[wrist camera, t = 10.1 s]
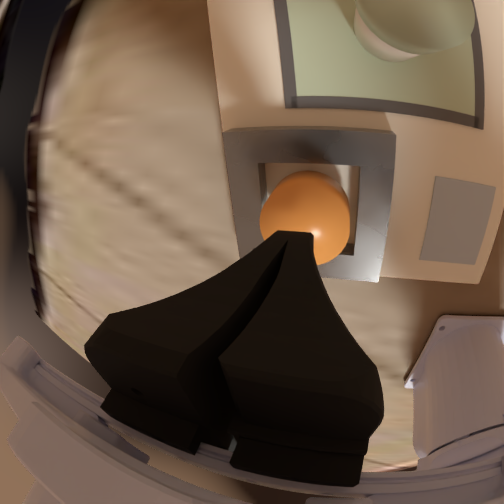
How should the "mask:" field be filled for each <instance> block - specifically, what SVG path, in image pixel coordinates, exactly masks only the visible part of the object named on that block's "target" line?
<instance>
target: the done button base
mask: <svg viewBox="0 0 504 504" xmlns="http://www.w3.org/2000/svg"><path fill="white" fill-rule="evenodd" d="M222 134H223V142H224V149H225V157H226V164H227V172H228V179H229V186H230V193H231V200H232V207H233V214H234V221H235V228H236V235H237V242H238V249H239V256H240V259H241V258H242V257H244V256H245V255H247V254H248V253H249V252H251V251H252V250H253V249H255V248H256V247H257V246H258V245H260V244H261V243H262V242H263V241H264V239H263V236H262V234H261V230H260V214H261V210H262V208H263V205H264V204H265V202H266V201H267V199H268V195H267V184H266V172H265V163H311V164H334V165H351V166H359V179H358V198H357V213H356V225H355V236H354V244H349V243H347V244H346V246H345V247H344V249H343V250H342V252H341V253H340V254H339V255H338V256H336V257H335V258H334V259H332V260H331V261H329V262H326V263H324V264H320V265H317V267H318V270H319V274H320V276H321V277H326V278H336V279H347V280H358V281H370V282H378V280H379V275H380V271H381V266H382V260H383V255H384V249H385V243H386V237H387V231H388V224H389V217H390V209H391V201H392V192H393V182H394V170H395V154H396V134H395V133H394V132H393V131H389V130H379V129H368V128H354V127H334V126H266V127H246V128H232V129H229V130H227V131H225V132H222Z"/></svg>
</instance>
